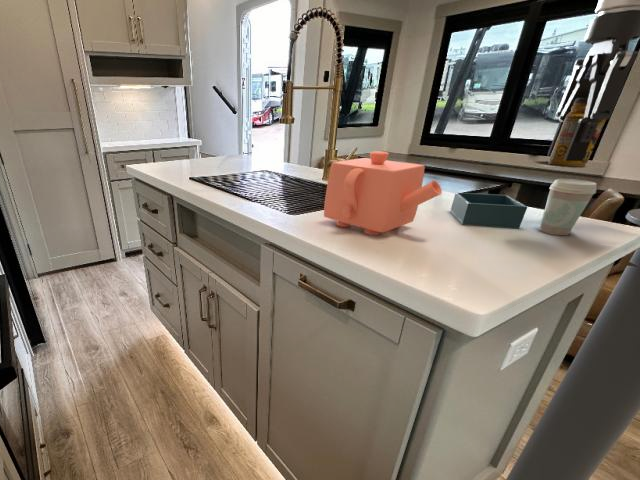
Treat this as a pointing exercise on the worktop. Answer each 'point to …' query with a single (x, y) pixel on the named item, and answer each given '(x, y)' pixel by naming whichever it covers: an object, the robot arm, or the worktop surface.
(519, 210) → the box
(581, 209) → the coffee cup
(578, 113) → the condiment
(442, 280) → the worktop surface
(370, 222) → the teapot
